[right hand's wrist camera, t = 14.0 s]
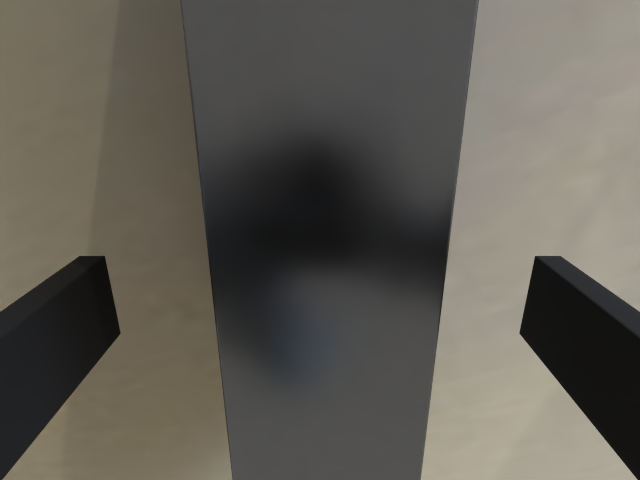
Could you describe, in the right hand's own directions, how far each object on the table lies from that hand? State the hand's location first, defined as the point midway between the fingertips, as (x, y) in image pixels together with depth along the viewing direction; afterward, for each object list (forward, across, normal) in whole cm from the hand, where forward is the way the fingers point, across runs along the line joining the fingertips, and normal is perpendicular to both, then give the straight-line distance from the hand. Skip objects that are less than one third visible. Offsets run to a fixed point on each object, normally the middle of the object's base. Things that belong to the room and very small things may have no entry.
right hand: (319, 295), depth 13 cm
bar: (+4, 0, -10) cm, 11 cm away
